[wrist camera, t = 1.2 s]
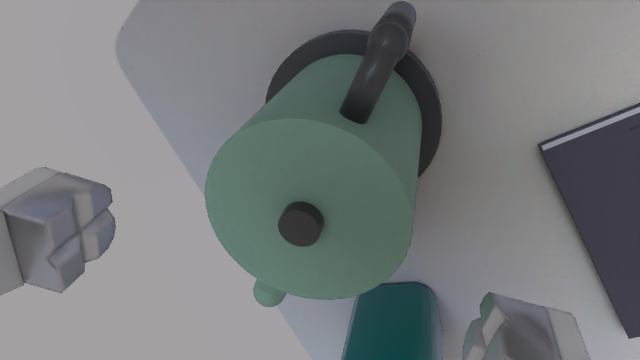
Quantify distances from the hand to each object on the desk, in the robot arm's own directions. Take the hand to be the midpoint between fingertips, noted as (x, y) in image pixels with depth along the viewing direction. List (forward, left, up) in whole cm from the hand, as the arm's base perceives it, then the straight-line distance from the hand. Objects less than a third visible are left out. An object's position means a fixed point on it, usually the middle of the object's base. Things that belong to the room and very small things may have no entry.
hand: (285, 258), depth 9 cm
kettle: (+4, -7, -26) cm, 28 cm away
